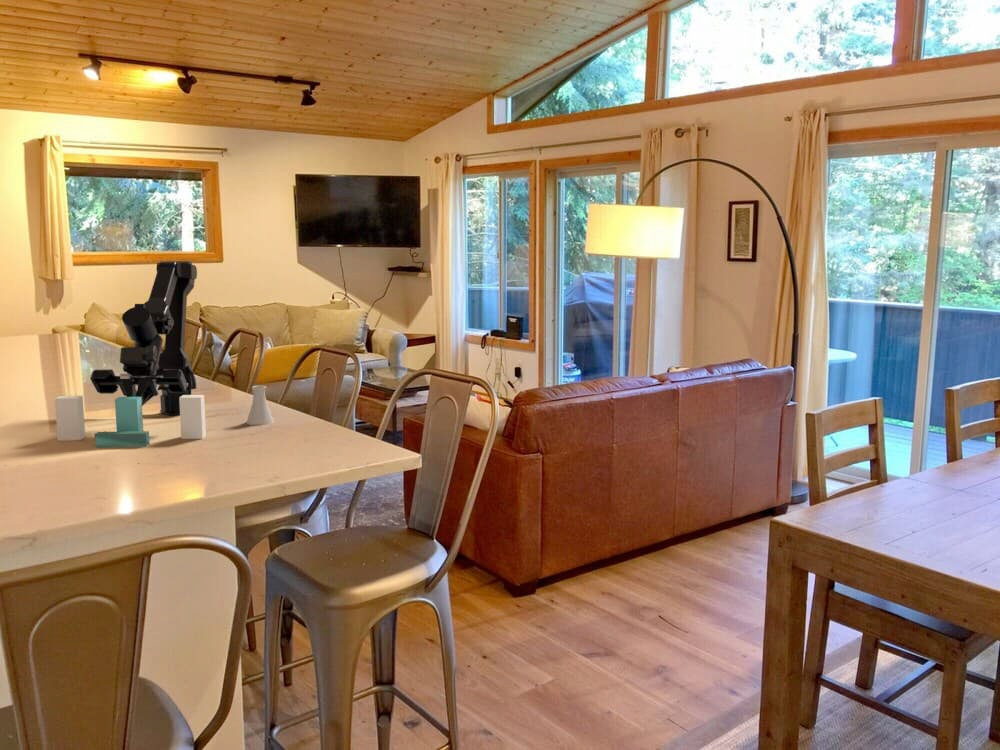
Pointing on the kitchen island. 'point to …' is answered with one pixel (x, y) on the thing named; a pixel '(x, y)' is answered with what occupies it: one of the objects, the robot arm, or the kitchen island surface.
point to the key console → (122, 439)
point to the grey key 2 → (192, 416)
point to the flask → (259, 408)
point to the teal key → (129, 414)
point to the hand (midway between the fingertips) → (132, 413)
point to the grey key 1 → (70, 418)
